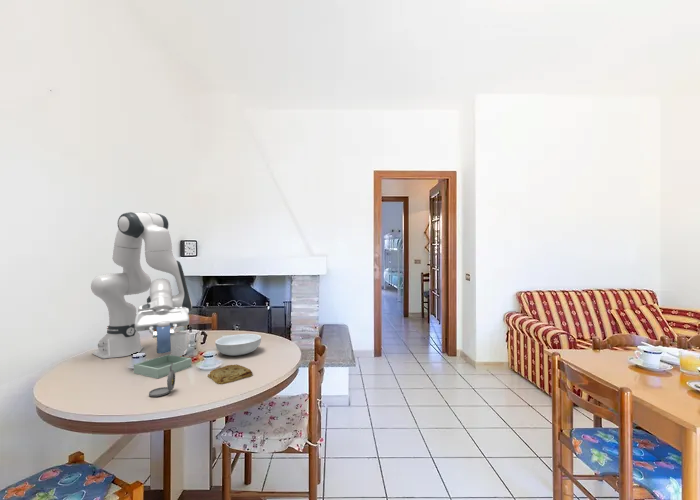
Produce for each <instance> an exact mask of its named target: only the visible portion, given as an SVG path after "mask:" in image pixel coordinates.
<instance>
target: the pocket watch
mask: <svg viewBox="0 0 700 500" xmlns="http://www.w3.org/2000/svg"><path fill="white" fill-rule="evenodd" d="M171 365H173V363H172V364H171ZM166 379H167V380H166V384H167V385H166V386H163V387H158V388H154V389H151V390H150V391H149V392H148V395H149V397H156V398H157V397H162V396H165V395H168V394H169V393H171V392H172V391H173V390H174V388H175V384H176V372H175V371H174V370H172V366H170V372H169V374H168V375H167V378H166Z"/></svg>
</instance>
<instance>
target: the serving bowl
mask: <svg viewBox="0 0 700 500" xmlns="http://www.w3.org/2000/svg"><path fill="white" fill-rule="evenodd" d="M261 341H262V336H261V335H260V334H255V333H240V334H230V335H226V336H222V337H219V338H218V339H216V340H215V341H214V342H215V343H214V344H215V347H216V350H217V351H218V352H219V353H221V354H222V355H225V356H233V357H235V356H237V357H239V356H243V355H246V354H250V353H252V352H254V351H255V350H257V348H258V347H259V346H260V344H261V343H262V342H261Z"/></svg>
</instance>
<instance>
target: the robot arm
mask: <svg viewBox="0 0 700 500" xmlns="http://www.w3.org/2000/svg"><path fill="white" fill-rule="evenodd" d="M168 220H169V219H167V217H166V216H165V215H162V214H160V213H153V212H131V211H129V212H125V213H122V214H121V215H120V216H119V217H118V219H117V228H118V229H117V232H116V234H115V239H114V243H113V250H112V251H113V252H112V261H113V263H114V264H115V265H116V266H117V265H118V266H119V267H121V268H122V272H119V273H118V272H117V273H106V274H100V275H98V276H95V277H94V278H93V279H92V281H91V283H90V288H91V292H92V293H93V294H94V295H95V296H96V297H97V298H99V299H101V300H102V301H103V302H104V304H105V305H106V307H107V311H108V320H109V322H108V323H109V324H108V326H106V329H107V331H106V334H105V335H104V336H103V337H102V338H101V339H100V340H99V341H98V343H97V348H98V349H97V350H94V351H92V355H94V356H96V357H97V358H98V357H99V359H111V358H121V357H127V356H132V355H131V354H133V353H135V352H138V353H140V352H141V351H142V350H143V349H144V346H142V344H141V334H140V332H143V331H145V332H146V331H149V333H150V334H151V336H152V338H154V339H155V338H156V339H157V331H155V330H157V322H162V321H170V334H171V335H174V333H176V330H177V328H178V327H187V326H188V325H189V324H190V312H191V311H192V310H193V301H192V299H191V296H190V294H189V289H188V285H187V281H186V277H185V273H184V271H183V270H184V269H183V267H182V266H183V265H182V264H181V262H180V261H179V260H176V258H175V256H174V253H173V246H172V239H171V235H170V231H169V230H168V229H169V221H168ZM143 242H144V257H145V261H146V264H147V265H148V266H149V267H150V268H151V269H154V270H156V271H160V272H164V273H166V274H170V275H171V276H173V277H174V279H175V282H176V286H177V290H178V294H174V295H173V289H172V286H171V281H170V280H168V279H167V278H156V279H154V280H151V277H150V275H149V274H147V273H146V272H145V271H144V270H143V268H142V266H141V253H142V245H143ZM147 291H149V296H148V297H147V298H146V303H145V304H141V305H139V307H138V309H137V308H136V306H135V305H134V304H133V303H131V302H130V303H129V302H127V301H126V299H125V296H131V295H139V294H142V293H145V292H147ZM137 310H138V311H137ZM133 355H134V354H133Z"/></svg>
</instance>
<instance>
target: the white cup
mask: <svg viewBox="0 0 700 500" xmlns="http://www.w3.org/2000/svg"><path fill="white" fill-rule="evenodd" d="M188 338H189V333H188V332H186V331H179V332H174V335H171V351H170V355H174V356H181V357H183V356H182V355H183V354H184V351H185V350H186V348H187V349H188V341H189V340H188Z"/></svg>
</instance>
